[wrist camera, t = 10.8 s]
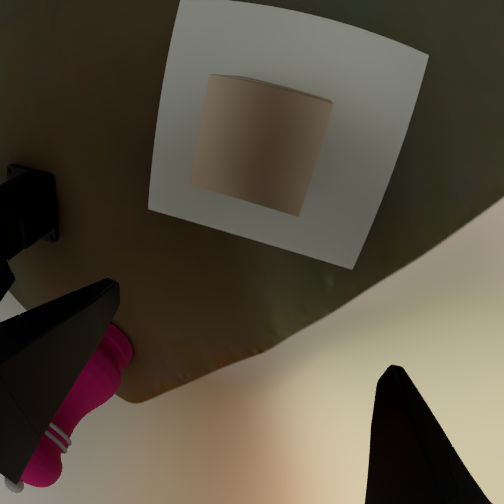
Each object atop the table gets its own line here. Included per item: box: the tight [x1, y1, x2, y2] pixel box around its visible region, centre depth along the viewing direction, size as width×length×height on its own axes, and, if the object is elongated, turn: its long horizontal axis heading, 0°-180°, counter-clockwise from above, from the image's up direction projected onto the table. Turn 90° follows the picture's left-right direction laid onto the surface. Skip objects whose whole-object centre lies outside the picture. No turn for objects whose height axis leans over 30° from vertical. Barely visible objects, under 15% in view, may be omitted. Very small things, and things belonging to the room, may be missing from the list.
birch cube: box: [189, 74, 334, 217], centre depth 15 cm, size 5×5×5 cm
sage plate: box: [148, 0, 429, 270], centre depth 17 cm, size 14×14×1 cm
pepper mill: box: [5, 323, 133, 493], centre depth 23 cm, size 7×7×20 cm
